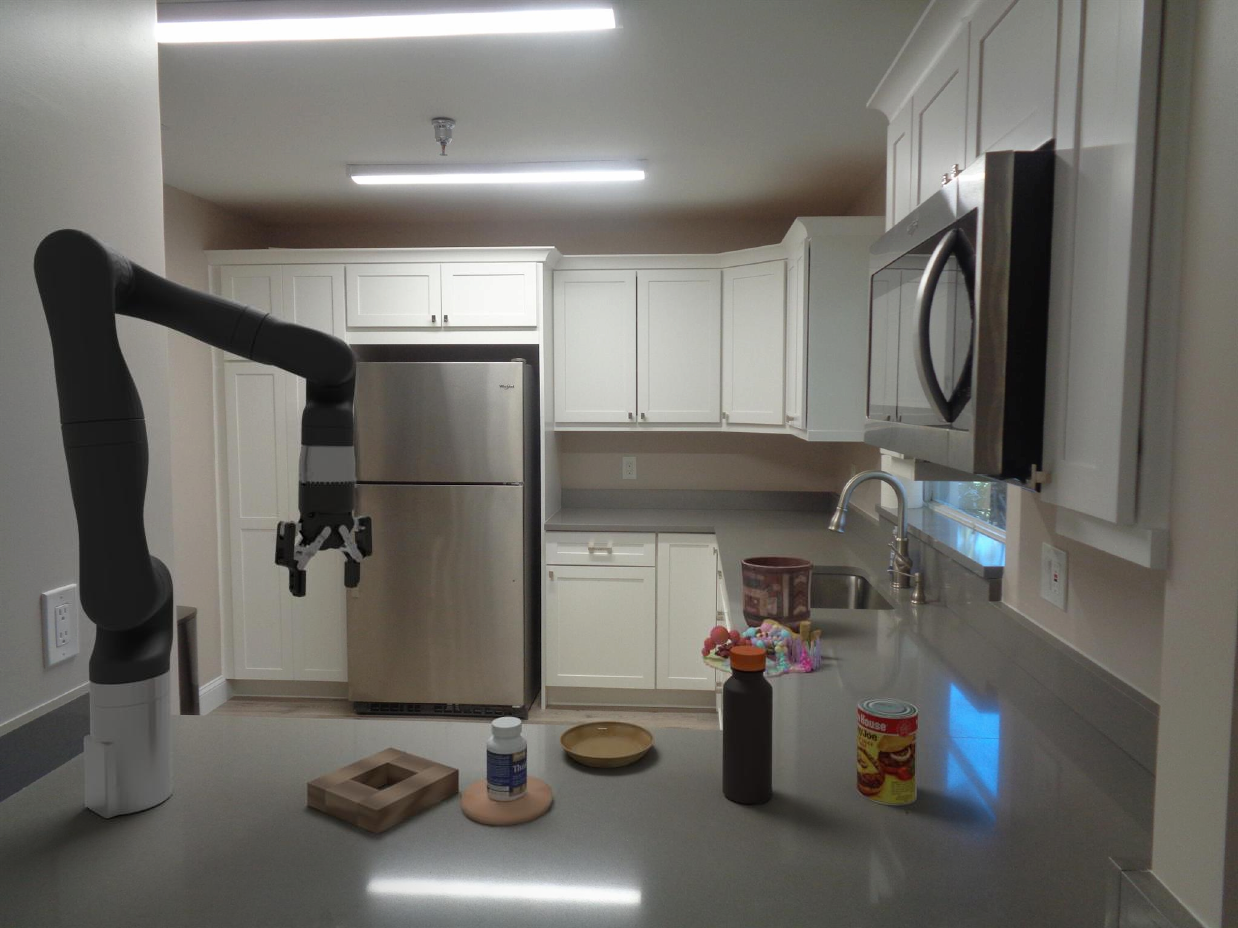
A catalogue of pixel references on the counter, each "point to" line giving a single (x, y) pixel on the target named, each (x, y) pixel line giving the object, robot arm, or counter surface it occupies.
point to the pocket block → (379, 810)
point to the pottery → (776, 590)
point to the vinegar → (747, 728)
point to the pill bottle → (506, 760)
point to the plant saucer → (606, 743)
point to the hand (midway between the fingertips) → (325, 591)
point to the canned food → (887, 751)
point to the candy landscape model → (767, 647)
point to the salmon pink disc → (506, 804)
